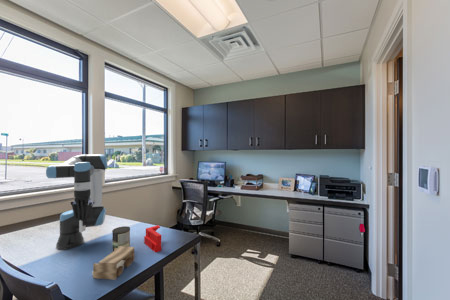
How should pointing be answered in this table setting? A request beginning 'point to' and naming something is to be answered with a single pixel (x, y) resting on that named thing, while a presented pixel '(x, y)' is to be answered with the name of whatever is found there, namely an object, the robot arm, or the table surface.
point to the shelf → (113, 263)
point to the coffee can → (121, 237)
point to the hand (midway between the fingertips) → (82, 231)
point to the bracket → (153, 238)
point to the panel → (118, 264)
